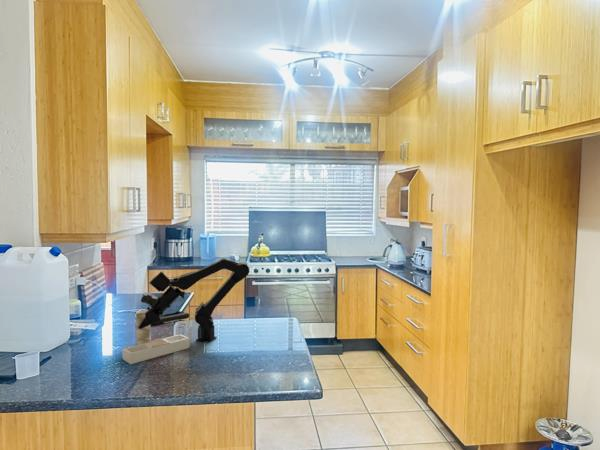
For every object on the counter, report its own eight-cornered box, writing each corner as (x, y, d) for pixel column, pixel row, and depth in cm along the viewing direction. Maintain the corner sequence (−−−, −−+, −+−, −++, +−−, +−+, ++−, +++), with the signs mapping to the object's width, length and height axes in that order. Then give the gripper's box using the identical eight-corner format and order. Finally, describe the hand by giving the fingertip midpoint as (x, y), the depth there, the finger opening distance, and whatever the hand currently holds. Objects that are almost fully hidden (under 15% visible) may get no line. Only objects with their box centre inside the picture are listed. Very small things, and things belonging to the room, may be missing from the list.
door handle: (140, 315, 203) (153, 320, 191) (177, 308, 217) (191, 312, 205) (140, 321, 203) (153, 327, 191) (177, 314, 217) (191, 319, 205)
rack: (180, 343, 168) (180, 333, 168) (189, 347, 163) (189, 337, 163) (122, 358, 151) (122, 347, 151) (130, 364, 146) (130, 352, 146)
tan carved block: (150, 339, 169) (150, 309, 168) (149, 343, 165) (148, 312, 164) (138, 340, 168) (137, 310, 167) (136, 344, 164) (135, 313, 163)
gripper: (154, 282, 175) (128, 308, 173) (150, 290, 157) (121, 320, 155) (173, 298, 178) (147, 324, 175) (171, 309, 160) (142, 338, 157)
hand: (139, 326), depth 166 cm, fingers closed on tan carved block, 4 cm apart
